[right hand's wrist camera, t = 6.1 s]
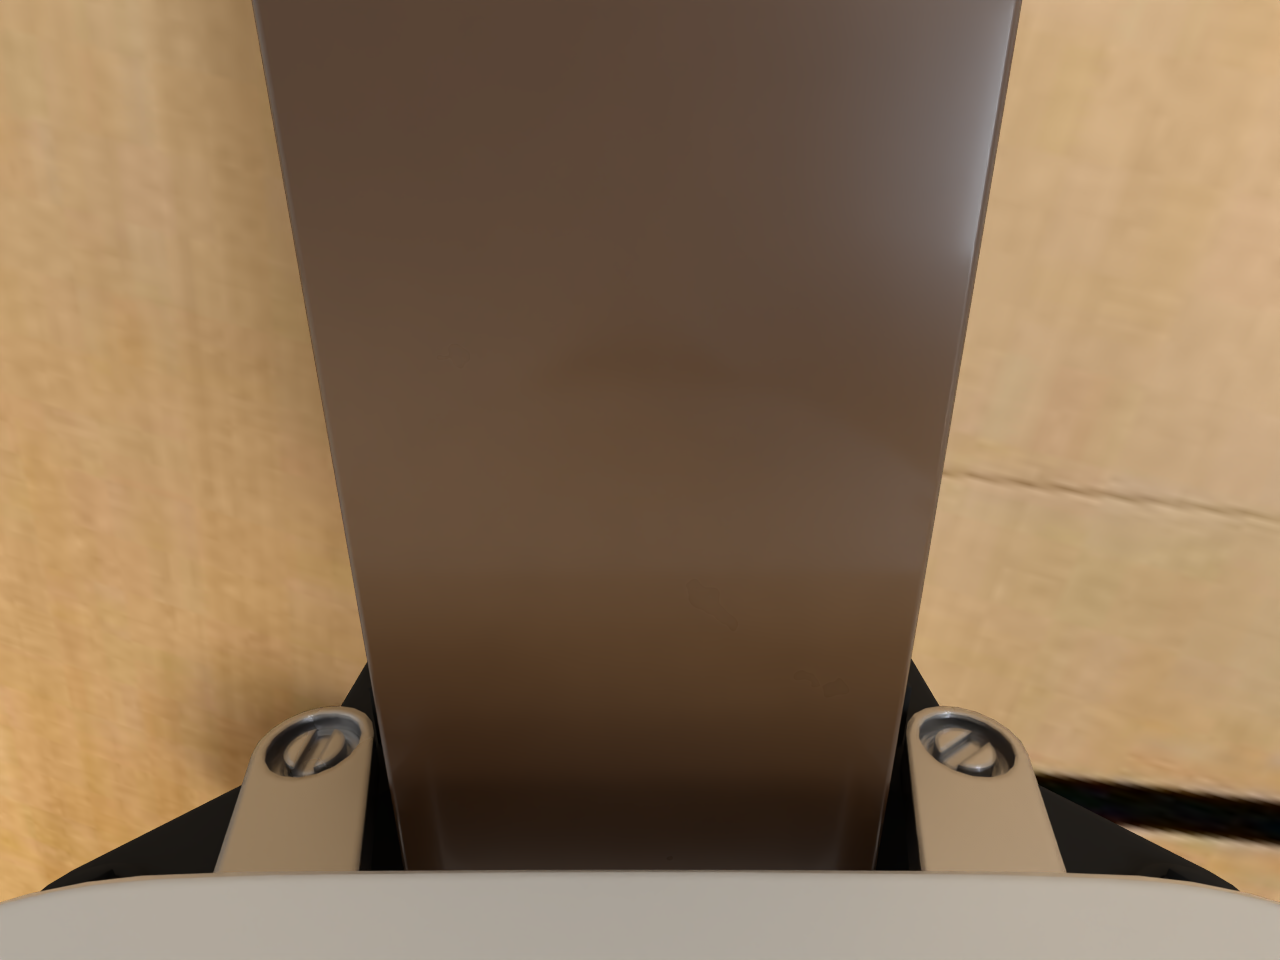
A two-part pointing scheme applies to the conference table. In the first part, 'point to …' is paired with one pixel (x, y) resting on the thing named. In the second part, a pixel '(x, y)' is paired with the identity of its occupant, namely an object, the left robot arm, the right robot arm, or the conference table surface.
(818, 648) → the bar
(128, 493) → the conference table surface
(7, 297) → the conference table surface
